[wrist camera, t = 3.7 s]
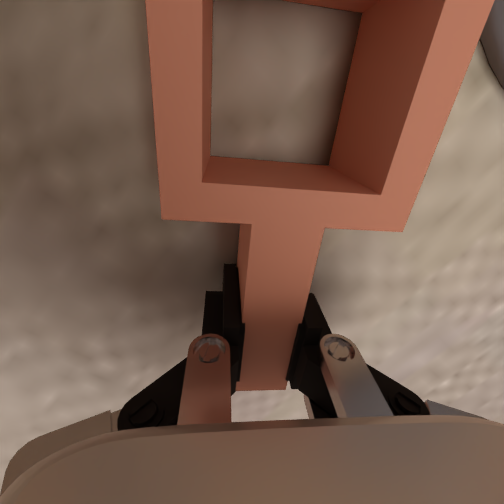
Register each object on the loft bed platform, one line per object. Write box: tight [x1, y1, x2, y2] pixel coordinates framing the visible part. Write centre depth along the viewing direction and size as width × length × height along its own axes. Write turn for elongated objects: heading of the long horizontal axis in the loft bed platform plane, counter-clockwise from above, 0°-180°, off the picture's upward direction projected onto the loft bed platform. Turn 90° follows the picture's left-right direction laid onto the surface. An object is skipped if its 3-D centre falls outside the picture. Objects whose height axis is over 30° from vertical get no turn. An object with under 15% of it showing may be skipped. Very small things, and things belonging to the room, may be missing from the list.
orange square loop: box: [145, 0, 495, 391], centre depth 9 cm, size 14×7×4 cm, turn 175°
